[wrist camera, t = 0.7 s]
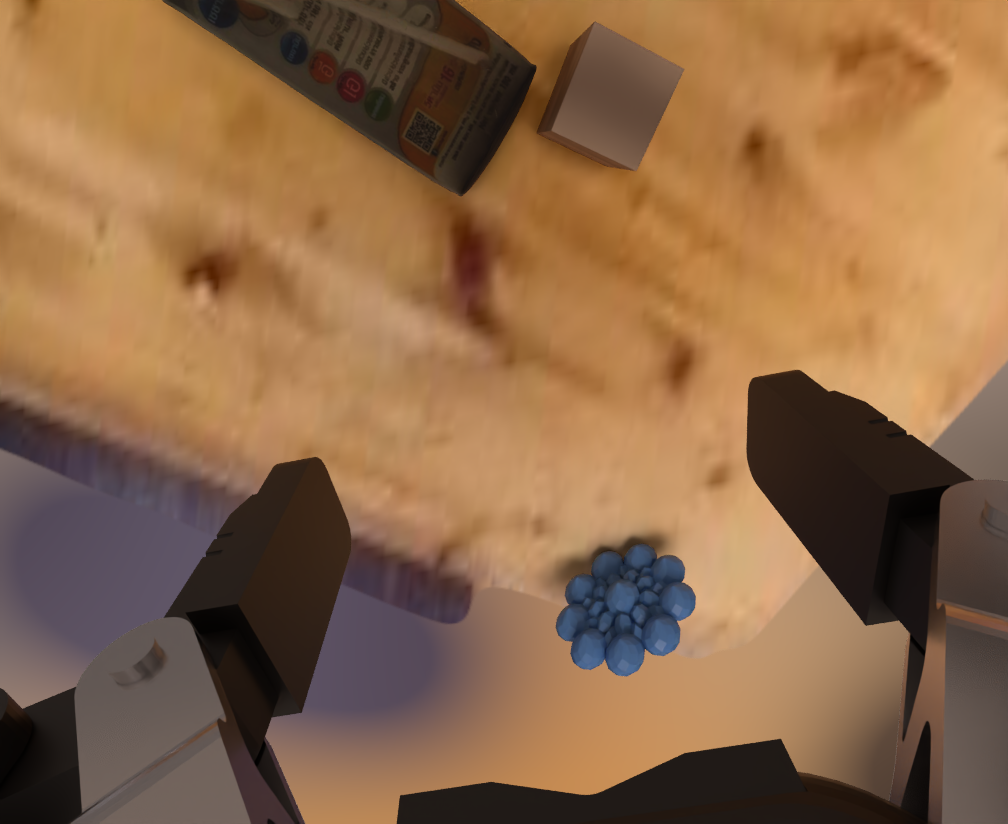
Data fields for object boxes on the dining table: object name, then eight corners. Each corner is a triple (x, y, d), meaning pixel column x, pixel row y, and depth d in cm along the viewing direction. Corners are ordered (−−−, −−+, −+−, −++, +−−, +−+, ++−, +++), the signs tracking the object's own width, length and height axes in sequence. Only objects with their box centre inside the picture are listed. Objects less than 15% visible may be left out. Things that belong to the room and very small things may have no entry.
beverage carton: (222, -161, 28) (155, -244, 22) (534, 79, 33) (548, 65, 27) (171, 1, 30) (99, -34, 24) (466, 198, 36) (466, 208, 30)
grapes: (559, 605, 52) (582, 725, 41) (538, 553, 49) (557, 668, 38) (678, 570, 51) (733, 684, 40) (664, 515, 48) (719, 622, 37)
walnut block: (570, 45, 32) (594, 21, 26) (644, 83, 33) (684, 69, 27) (536, 133, 34) (551, 130, 28) (606, 166, 35) (636, 171, 29)
